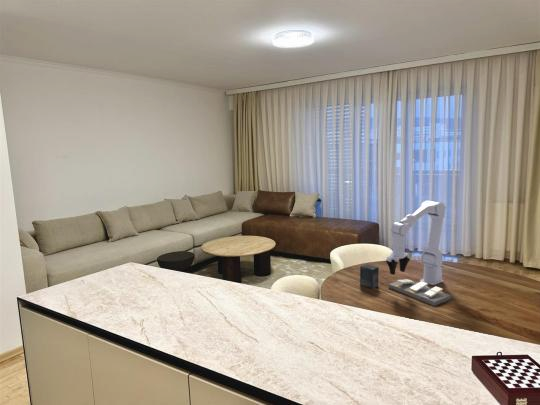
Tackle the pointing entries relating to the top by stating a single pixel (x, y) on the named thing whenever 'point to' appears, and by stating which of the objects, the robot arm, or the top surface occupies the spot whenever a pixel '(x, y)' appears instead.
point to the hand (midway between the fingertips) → (397, 272)
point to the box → (369, 275)
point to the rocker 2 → (418, 286)
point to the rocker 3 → (433, 291)
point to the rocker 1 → (405, 281)
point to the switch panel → (420, 293)
